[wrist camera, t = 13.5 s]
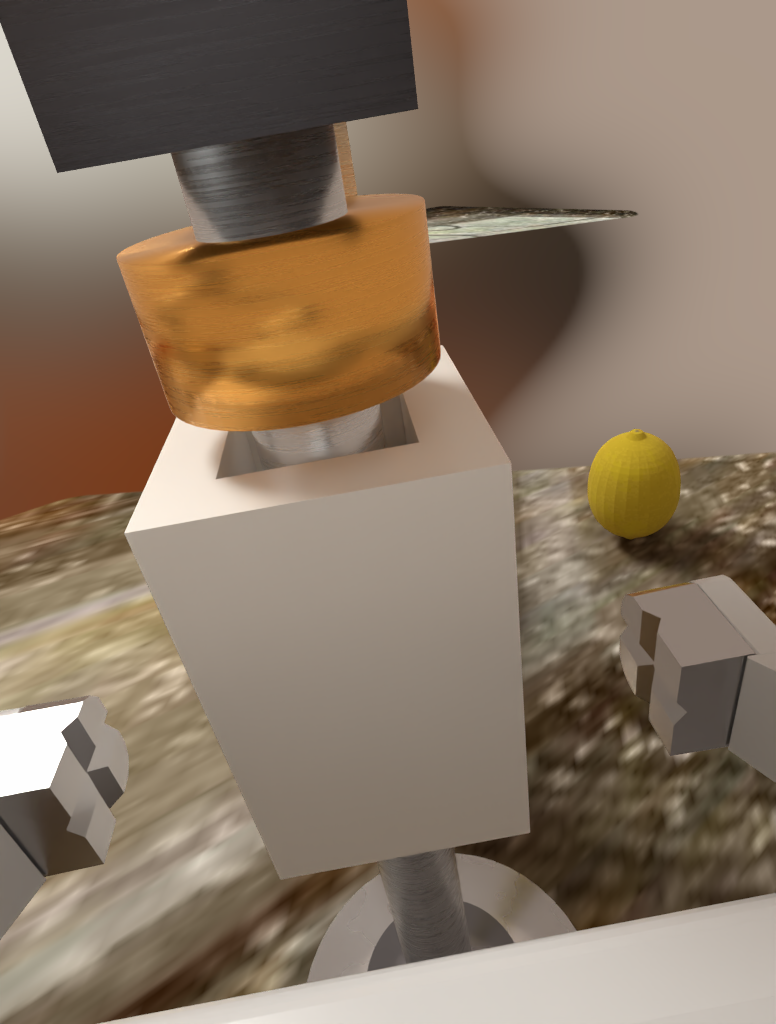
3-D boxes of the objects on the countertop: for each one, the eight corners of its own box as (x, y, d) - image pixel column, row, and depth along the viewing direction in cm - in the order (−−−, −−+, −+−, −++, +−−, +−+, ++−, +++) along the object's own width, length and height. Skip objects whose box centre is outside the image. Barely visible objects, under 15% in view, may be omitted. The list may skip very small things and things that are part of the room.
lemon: (598, 567, 41) (602, 457, 36) (578, 519, 45) (579, 417, 41) (687, 558, 40) (702, 445, 36) (658, 511, 45) (668, 406, 41)
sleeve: (530, 832, 12) (511, 462, 8) (280, 879, 12) (124, 533, 8) (474, 653, 16) (442, 345, 12) (288, 687, 16) (188, 390, 12)
